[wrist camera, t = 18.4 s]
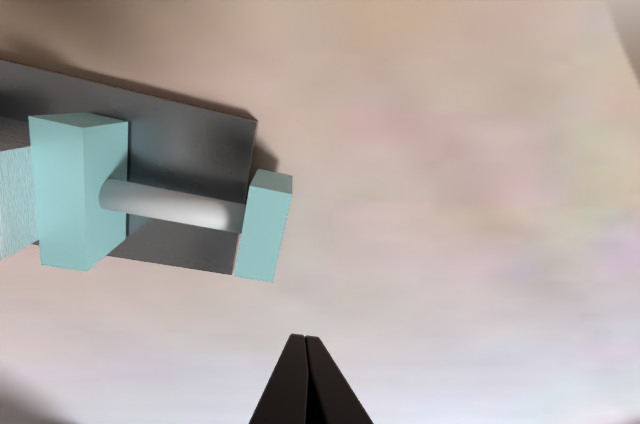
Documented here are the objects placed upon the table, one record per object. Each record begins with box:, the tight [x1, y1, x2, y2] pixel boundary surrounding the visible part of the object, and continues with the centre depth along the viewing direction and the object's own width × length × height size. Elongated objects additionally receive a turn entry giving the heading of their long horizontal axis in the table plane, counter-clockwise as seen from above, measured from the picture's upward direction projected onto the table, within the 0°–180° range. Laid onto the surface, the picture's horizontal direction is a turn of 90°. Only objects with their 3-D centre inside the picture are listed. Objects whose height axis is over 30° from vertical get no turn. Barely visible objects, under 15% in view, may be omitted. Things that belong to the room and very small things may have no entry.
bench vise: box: [0, 59, 258, 275], centre depth 15 cm, size 16×10×5 cm, turn 76°
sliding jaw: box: [28, 112, 292, 283], centre depth 16 cm, size 11×7×4 cm, turn 76°
